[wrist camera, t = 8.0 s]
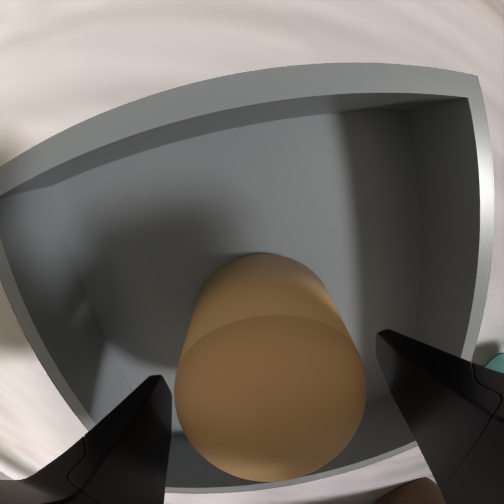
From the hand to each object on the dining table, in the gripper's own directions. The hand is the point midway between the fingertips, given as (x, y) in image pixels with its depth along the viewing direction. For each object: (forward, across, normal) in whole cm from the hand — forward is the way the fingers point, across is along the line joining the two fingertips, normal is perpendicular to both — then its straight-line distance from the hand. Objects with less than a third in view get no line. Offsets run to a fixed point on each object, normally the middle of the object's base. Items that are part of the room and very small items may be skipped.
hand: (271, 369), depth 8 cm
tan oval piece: (+3, 0, 0) cm, 3 cm away
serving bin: (+4, 0, 0) cm, 4 cm away
